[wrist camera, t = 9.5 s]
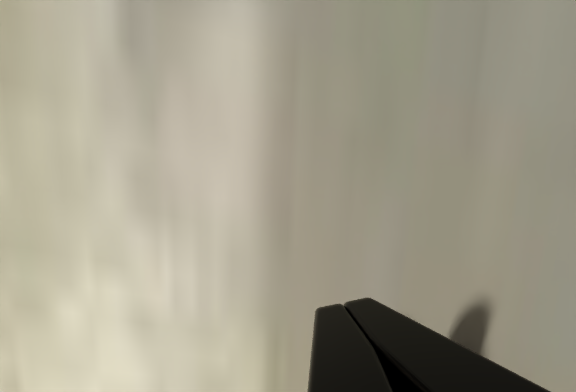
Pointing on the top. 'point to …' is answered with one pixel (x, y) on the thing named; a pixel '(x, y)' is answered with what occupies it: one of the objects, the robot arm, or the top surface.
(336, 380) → the robot arm
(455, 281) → the top surface
